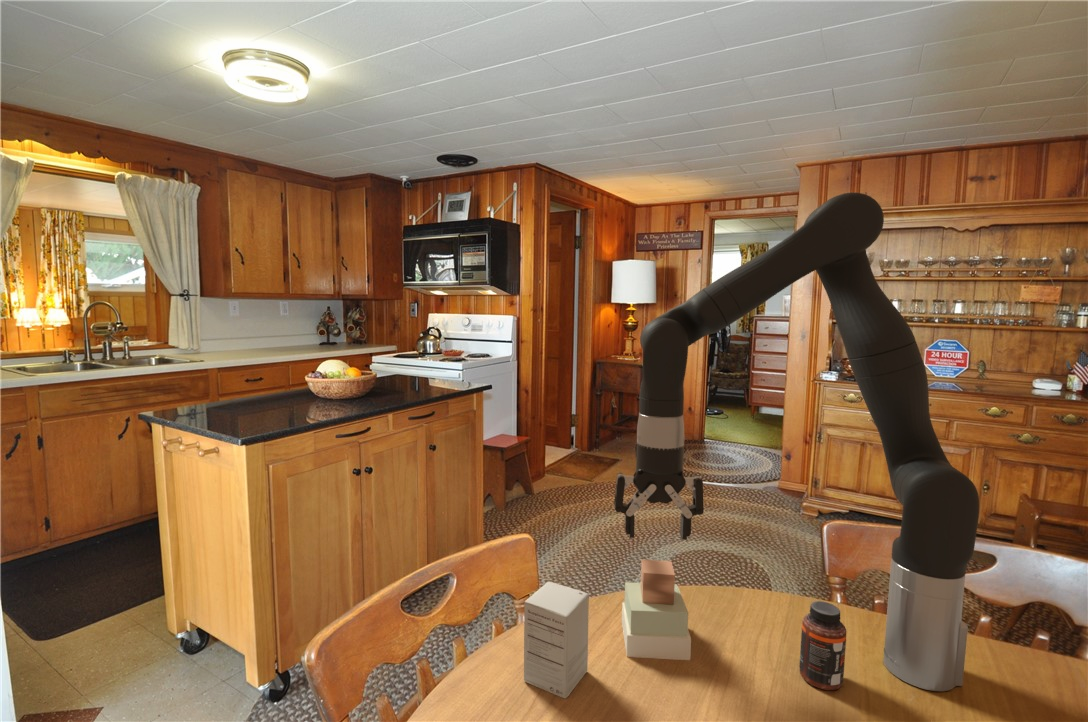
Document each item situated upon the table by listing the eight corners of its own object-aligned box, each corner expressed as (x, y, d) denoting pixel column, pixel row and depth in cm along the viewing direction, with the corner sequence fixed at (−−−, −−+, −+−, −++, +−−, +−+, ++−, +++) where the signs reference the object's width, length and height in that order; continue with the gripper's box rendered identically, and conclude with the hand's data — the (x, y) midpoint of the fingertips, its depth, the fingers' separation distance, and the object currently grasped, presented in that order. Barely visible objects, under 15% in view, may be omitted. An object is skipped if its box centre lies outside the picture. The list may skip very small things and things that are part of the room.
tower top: (675, 605, 95) (676, 584, 95) (687, 636, 86) (688, 612, 86) (624, 603, 95) (625, 582, 95) (630, 634, 86) (631, 610, 86)
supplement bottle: (848, 695, 78) (854, 621, 77) (804, 689, 80) (809, 616, 79) (835, 669, 84) (840, 599, 83) (794, 663, 85) (798, 595, 84)
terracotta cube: (670, 589, 93) (671, 561, 92) (673, 604, 88) (674, 575, 87) (640, 587, 93) (641, 559, 93) (642, 602, 88) (643, 572, 88)
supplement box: (547, 655, 86) (548, 579, 85) (588, 671, 83) (590, 592, 82) (521, 682, 80) (522, 600, 79) (565, 701, 76) (567, 615, 75)
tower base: (678, 626, 96) (679, 604, 95) (690, 662, 86) (691, 638, 86) (621, 623, 96) (622, 601, 96) (626, 659, 86) (627, 635, 86)
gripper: (699, 436, 92) (695, 529, 93) (614, 434, 92) (612, 526, 94) (710, 447, 84) (706, 548, 86) (617, 445, 85) (615, 545, 86)
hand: (657, 537), depth 90 cm, fingers open, 8 cm apart
